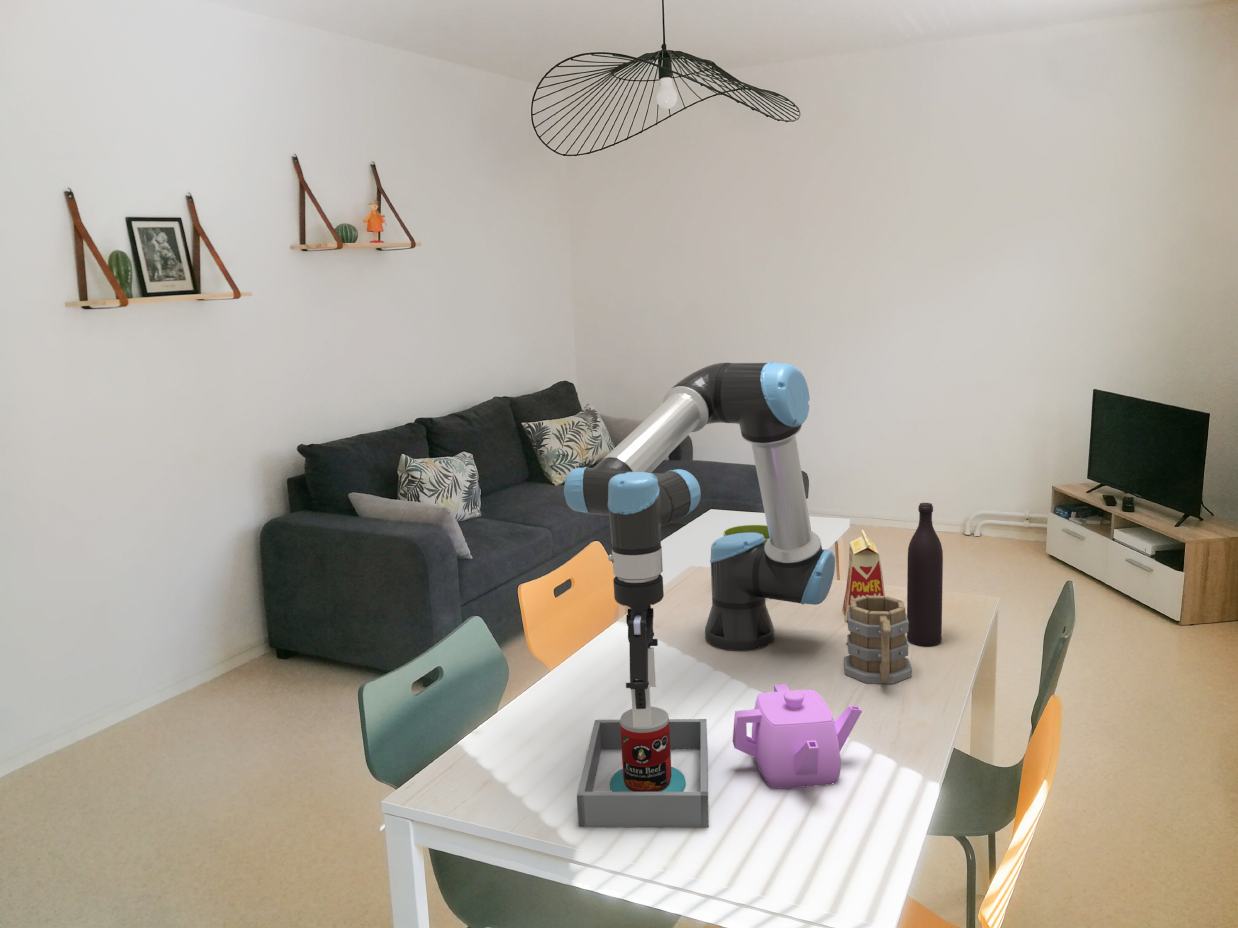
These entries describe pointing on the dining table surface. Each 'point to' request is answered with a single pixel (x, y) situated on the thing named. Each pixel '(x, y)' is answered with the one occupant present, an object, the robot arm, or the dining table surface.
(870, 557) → the milk carton
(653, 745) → the canned food
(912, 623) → the wine bottle
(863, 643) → the tankard
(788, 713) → the teakettle
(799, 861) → the dining table surface
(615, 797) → the grey square tray
